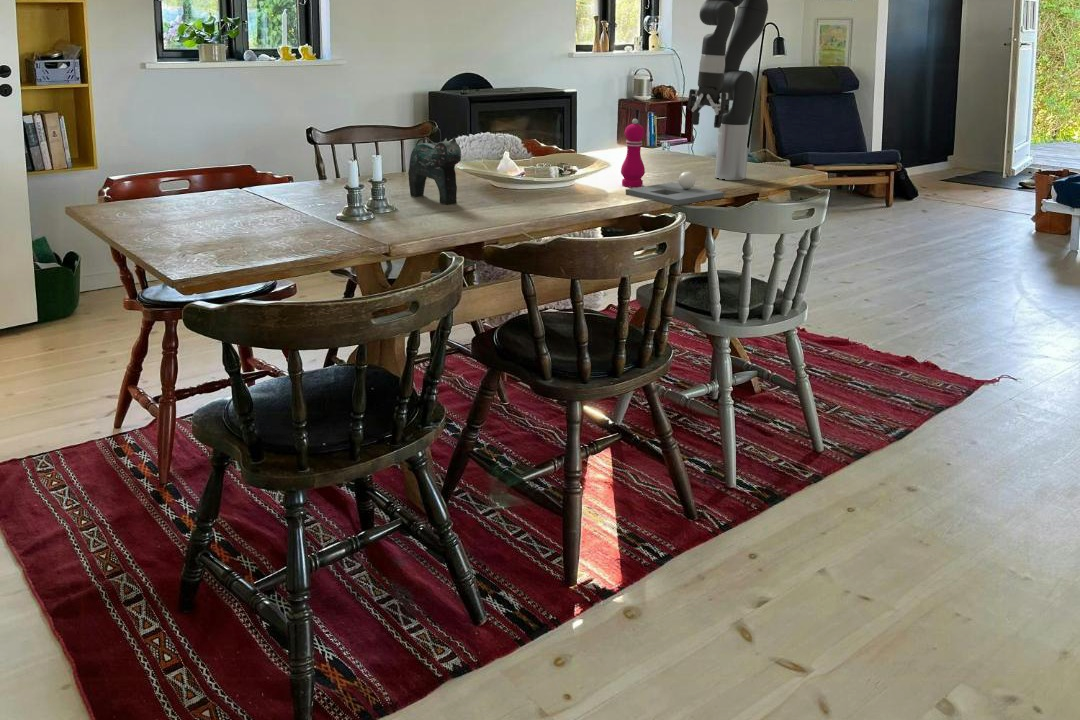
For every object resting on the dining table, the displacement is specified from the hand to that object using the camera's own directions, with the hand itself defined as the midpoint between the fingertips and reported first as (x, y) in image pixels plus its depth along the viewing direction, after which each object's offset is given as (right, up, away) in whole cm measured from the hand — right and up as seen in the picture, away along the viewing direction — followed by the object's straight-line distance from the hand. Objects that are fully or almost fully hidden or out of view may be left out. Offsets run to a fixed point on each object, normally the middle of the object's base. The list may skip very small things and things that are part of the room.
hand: (706, 126), depth 321 cm
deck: (-11, -23, -14) cm, 30 cm away
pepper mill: (-22, -18, 0) cm, 29 cm away
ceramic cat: (-80, -27, -26) cm, 89 cm away
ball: (-8, -19, -13) cm, 24 cm away
